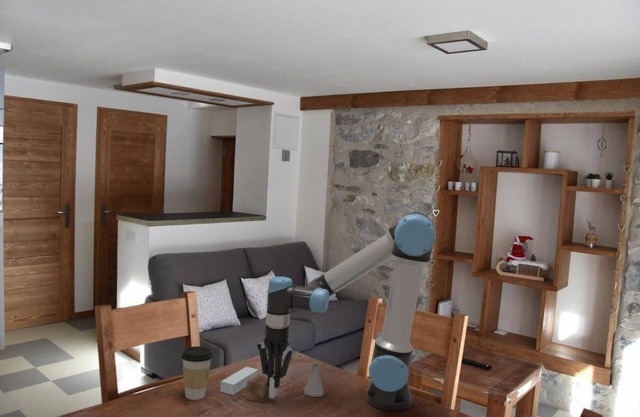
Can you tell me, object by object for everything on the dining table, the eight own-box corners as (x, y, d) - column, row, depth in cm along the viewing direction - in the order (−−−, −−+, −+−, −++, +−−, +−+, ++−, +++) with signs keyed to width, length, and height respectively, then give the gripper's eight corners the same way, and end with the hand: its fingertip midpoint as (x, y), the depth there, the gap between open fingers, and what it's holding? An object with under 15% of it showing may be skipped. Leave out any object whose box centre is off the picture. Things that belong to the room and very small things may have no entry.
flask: (322, 399, 179) (324, 370, 178) (301, 396, 180) (303, 367, 179) (326, 390, 186) (328, 362, 185) (305, 387, 187) (307, 359, 187)
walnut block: (271, 396, 178) (272, 378, 178) (262, 403, 173) (263, 384, 172) (255, 392, 181) (256, 374, 180) (246, 398, 175) (247, 380, 175)
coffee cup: (216, 394, 177) (219, 349, 176) (197, 405, 168) (200, 358, 167) (192, 387, 181) (194, 343, 180) (173, 397, 172) (175, 351, 171)
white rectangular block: (257, 379, 192) (258, 369, 192) (233, 395, 177) (233, 384, 177) (245, 376, 194) (246, 366, 194) (220, 391, 179) (220, 381, 179)
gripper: (300, 326, 174) (295, 397, 175) (265, 319, 179) (261, 388, 181) (290, 332, 167) (285, 405, 169) (253, 324, 172) (249, 396, 174)
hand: (272, 396), depth 175 cm, fingers closed
